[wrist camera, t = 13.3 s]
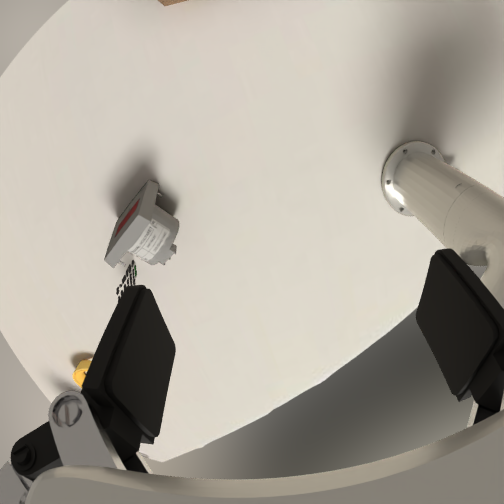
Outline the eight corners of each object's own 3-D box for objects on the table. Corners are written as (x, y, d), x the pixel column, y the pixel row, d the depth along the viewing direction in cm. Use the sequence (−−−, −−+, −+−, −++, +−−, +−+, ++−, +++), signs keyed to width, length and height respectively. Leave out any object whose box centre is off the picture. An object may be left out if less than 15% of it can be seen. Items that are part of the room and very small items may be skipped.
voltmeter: (117, 174, 40) (87, 199, 31) (188, 182, 41) (173, 209, 33) (125, 304, 53) (109, 340, 45) (180, 314, 55) (171, 353, 46)
